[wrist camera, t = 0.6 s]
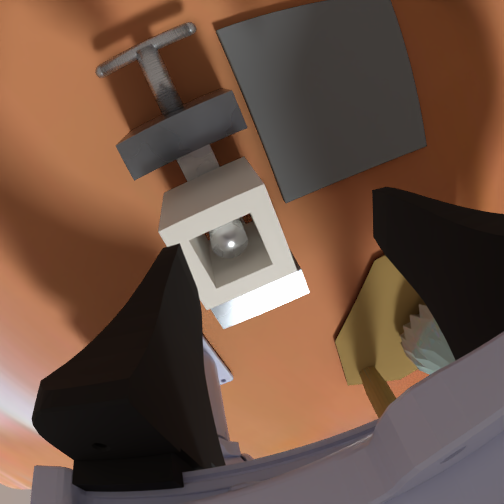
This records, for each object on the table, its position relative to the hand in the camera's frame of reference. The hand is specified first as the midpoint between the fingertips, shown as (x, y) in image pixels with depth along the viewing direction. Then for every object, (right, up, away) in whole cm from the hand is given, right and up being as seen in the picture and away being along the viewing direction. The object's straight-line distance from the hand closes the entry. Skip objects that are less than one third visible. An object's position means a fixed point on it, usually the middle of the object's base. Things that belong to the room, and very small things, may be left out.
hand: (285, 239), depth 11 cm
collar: (-3, +2, +8) cm, 9 cm away
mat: (+4, +10, +7) cm, 13 cm away
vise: (-4, +5, +8) cm, 10 cm away
